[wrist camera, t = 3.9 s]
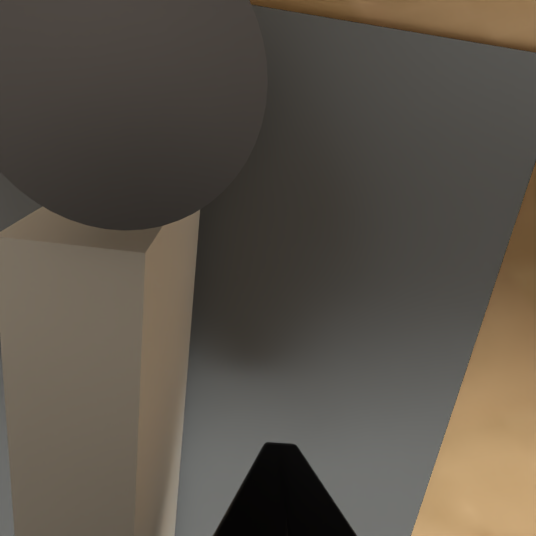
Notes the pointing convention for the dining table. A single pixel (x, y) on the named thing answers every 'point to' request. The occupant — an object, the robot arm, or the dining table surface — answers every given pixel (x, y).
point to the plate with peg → (284, 219)
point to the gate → (95, 373)
